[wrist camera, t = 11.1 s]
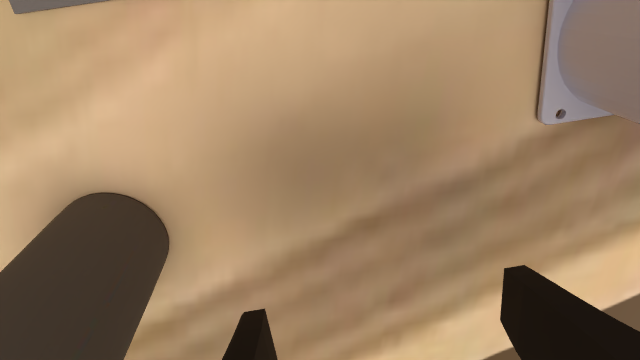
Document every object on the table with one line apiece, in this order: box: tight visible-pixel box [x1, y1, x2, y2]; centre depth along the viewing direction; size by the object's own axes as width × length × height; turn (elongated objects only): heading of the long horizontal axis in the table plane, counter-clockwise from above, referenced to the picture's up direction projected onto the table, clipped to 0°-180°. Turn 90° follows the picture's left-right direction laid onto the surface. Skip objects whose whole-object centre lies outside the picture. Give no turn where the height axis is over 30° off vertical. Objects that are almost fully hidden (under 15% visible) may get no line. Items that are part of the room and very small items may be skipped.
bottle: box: [0, 193, 169, 360], centre depth 15 cm, size 6×6×15 cm
